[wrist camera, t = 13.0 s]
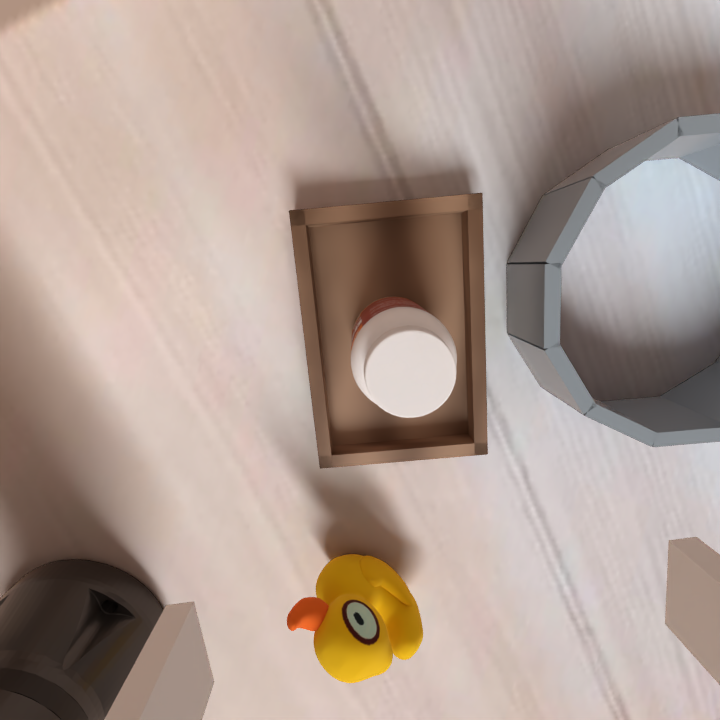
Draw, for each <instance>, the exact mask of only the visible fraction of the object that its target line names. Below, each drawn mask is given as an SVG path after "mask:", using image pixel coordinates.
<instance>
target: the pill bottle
mask: <svg viewBox="0 0 720 720" xmlns="http://www.w3.org/2000/svg"><path fill="white" fill-rule="evenodd" d="M456 366H457V353H456V347H455V344H454V341H453V339H452V336H451V335H450V333H449V331H448V330H447V329H446V327H445V326H444V325H443V324H442V323H441V322H440V321H439V320H438V319H437V318H436V317H435V316H433V315H432V314H430V313H429V312H428V311H426V310H425V309H423V308H422V307H421V306H419V305H418V304H416V303H415V302H413V301H411V300H409V299H406V298H402V297H385V298H382V299H379V300H376V301H374V302H373V303H371V304H370V305H368V306H367V307H366V308H365V309H364V310H363V311H362V312H361V313H360V315H359V316H358V318H357V320H356V322H355V324H354V327H353V331H352V342H351V368H352V372H353V376H354V379H355V381H356V383H357V385H358V387H359V388H360V390H361V391H362V392H363V393H364V394H365V395H366V397H367V398H368V399H370V400H371V401H372V402H374V403H375V404H377V405H378V406H379V407H380V408H382V409H383V410H384V411H386V412H388V413H390V414H392V415H395V416H398V417H405V418H414V417H420V416H424V415H427V414H429V413H431V412H433V411H435V410H436V409H438V408H439V407H440V406H441V405H442V404H443V403H444V402H445V401H446V400H447V399H448V397H449V396H450V394H451V392H452V390H453V388H454V385H455V381H456Z"/></svg>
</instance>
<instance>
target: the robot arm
mask: <svg viewBox="0 0 720 720" xmlns="http://www.w3.org/2000/svg"><path fill="white" fill-rule="evenodd" d="M665 624H666V625H667V626H668V628H669V629H670V630H671V631H672V632H673V633H674V634H675V635H676V637H677V638H678V639H679V640H680V641H681V642H682V643H683V644H684V646H685V647H686V648H687V649H688V650H689V651H690V652H691V653H692V654H693V656H694V657H695V658H696V659H697V660H698V661H699V662H700V663H701V665H702V666H703V667H704V668H705V669H706V670H707V671H708V672H709V674H710V675H711V676H712V677H713V678H714V679H715V680H716V681H717V682H718V684H719V685H720V555H719V554H718V553H717V552H715V551H714V550H713V549H712V548H710V547H709V546H708V545H706V544H705V543H704V542H702V541H701V540H700V539H699V538H697V537H692V538H684V539H676V540H669V547H668V570H667V592H666V614H665ZM213 684H214V679H213V675H212V671H211V667H210V663H209V659H208V655H207V651H206V647H205V644H204V640H203V636H202V632H201V628H200V624H199V620H198V616H197V612H196V608H195V604H194V602H187V603H179V604H172V605H166V606H165V608H164V610H163V609H162V607H161V605H160V604H159V602H158V601H157V599H156V598H155V597H154V595H153V594H152V593H151V592H150V591H149V590H148V589H147V588H146V587H145V586H144V585H143V584H141V583H140V582H139V581H138V580H136V579H135V578H133V577H132V576H130V575H129V574H127V573H125V572H123V571H121V570H119V569H117V568H114V567H112V566H109V565H106V564H102V563H98V562H93V561H87V560H64V561H57V562H53V563H49V564H46V565H43V566H41V567H38V568H36V569H34V570H32V571H31V572H29V573H28V574H26V575H25V576H24V577H22V578H21V579H20V580H19V581H18V582H17V583H16V584H15V585H14V586H13V587H12V588H11V589H10V590H9V591H7V592H6V593H5V594H4V595H3V596H2V597H1V598H0V720H202V718H203V715H204V712H205V709H206V706H207V703H208V699H209V696H210V693H211V690H212V687H213Z"/></svg>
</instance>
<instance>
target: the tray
mask: <svg viewBox="0 0 720 720" xmlns="http://www.w3.org/2000/svg"><path fill="white" fill-rule="evenodd" d="M289 214H290V223H291V231H292V239H293V248H294V256H295V264H296V273H297V281H298V289H299V298H300V306H301V315H302V323H303V331H304V340H305V348H306V356H307V365H308V373H309V381H310V390H311V398H312V406H313V415H314V423H315V431H316V440H317V448H318V456H319V465H320V468H331V467H343V466H355V465H367V464H379V463H390V462H402V461H414V460H426V459H438V458H449V457H461V456H473V455H485V454H488V447H487V398H486V349H485V299H484V250H483V201H482V193H475V194H464V195H453V196H442V197H432V198H421V199H410V200H399V201H388V202H377V203H366V204H356V205H345V206H334V207H323V208H312V209H301V210H290V211H289ZM385 297H402V298H406V299H409V300H411V301H413V302H415V303H416V304H418V305H419V306H421V307H422V308H423V309H425V310H426V311H428V312H429V313H430V314H432V315H433V316H435V317H436V318H437V319H438V320H439V321H440V322H441V323H442V324H443V325H444V326H445V327H446V329H447V330H448V331H449V333H450V335H451V336H452V339H453V341H454V344H455V347H456V353H457V366H456V381H455V385H454V388H453V390H452V392H451V394H450V396H449V397H448V399H447V400H446V401H445V402H444V403H443V404H442V405H441V406H440V407H439V408H438V409H436V410H435V411H433V412H431V413H429V414H427V415H424V416H420V417H414V418H405V417H398V416H395V415H392V414H390V413H388V412H386V411H384V410H383V409H382V408H380V407H379V406H378V405H377V404H375V403H374V402H372V401H371V400H370V399H368V398H367V397H366V395H365V394H364V393H363V392H362V391H361V390H360V388H359V387H358V385H357V383H356V381H355V379H354V376H353V372H352V368H351V342H352V331H353V327H354V324H355V322H356V320H357V318H358V316H359V315H360V313H361V312H362V311H363V310H364V309H365V308H366V307H367V306H368V305H370V304H371V303H373V302H374V301H376V300H379V299H382V298H385Z"/></svg>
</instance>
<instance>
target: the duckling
mask: <svg viewBox="0 0 720 720" xmlns="http://www.w3.org/2000/svg"><path fill="white" fill-rule="evenodd" d="M316 595H317V598H316V597H308V598H303V599H301V600H300V601H299V602H298V603H296V604H295V606H294V607H293V608H292V610H291V611H290V612H289V614H288V617H287V626H288V628H289V629H290V630H291V631H294V630H295V629H297V628H303V629H307V630H310V631H315V634H314V648H315V652H316V655H317V658H318V660H319V662H320V664H321V665H322V666H323V668H324V669H325V670H326V671H327V672H328V673H329V674H330V675H331V676H332V677H334V678H335V679H337V680H339V681H342V682H346V683H355V682H359V681H362V680H365V679H368V678H370V677H373V676H376V675H380V674H382V673H384V672H385V671H386V670H387V669H388V668H389V667H390V665H391V663H392V658H393V654H394V655H395V656H396V657H398V658H399V659H402V660H406V659H409V658H411V657H412V656H413V655H414V654H415V652H416V651H417V650H418V648H419V646H420V644H421V642H422V638H423V628H422V622H421V617H420V613H419V609H418V606H417V603H416V601H415V599H414V597H413V596H412V594H411V593H410V591H409V589H408V587H407V585H406V584H405V582H404V581H403V580H402V578H401V577H400V576H399V575H398V574H397V573H396V572H395V571H394V570H393V569H392V568H391V567H390V566H389V565H388V564H386V563H385V562H384V561H382V560H380V559H377V558H375V557H372V556H362V555H358V554H347V555H343V556H339V557H336V558H334V559H332V560H331V561H330V562H329V563H328V564H327V565H326V566H325V567H324V568H323V570H322V572H321V573H320V575H319V577H318V579H317V583H316Z"/></svg>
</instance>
